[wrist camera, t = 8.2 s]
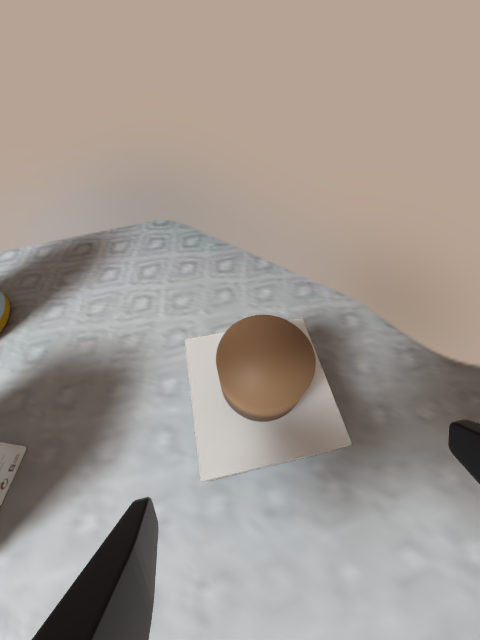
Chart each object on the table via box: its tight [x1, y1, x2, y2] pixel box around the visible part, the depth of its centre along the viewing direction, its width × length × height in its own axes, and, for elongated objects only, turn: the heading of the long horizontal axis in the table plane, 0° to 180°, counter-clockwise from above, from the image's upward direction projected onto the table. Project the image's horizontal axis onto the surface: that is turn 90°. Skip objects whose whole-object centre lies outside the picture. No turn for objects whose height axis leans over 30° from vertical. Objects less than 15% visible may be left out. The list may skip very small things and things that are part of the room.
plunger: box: [216, 315, 316, 422], centre depth 15 cm, size 4×4×9 cm
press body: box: [185, 318, 352, 482], centre depth 18 cm, size 8×8×6 cm
